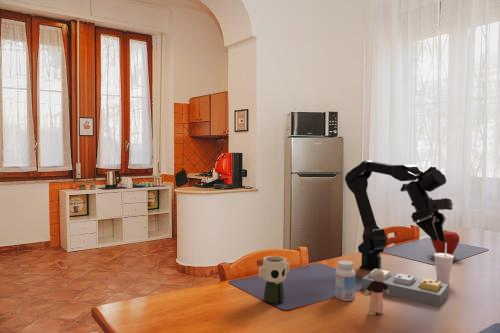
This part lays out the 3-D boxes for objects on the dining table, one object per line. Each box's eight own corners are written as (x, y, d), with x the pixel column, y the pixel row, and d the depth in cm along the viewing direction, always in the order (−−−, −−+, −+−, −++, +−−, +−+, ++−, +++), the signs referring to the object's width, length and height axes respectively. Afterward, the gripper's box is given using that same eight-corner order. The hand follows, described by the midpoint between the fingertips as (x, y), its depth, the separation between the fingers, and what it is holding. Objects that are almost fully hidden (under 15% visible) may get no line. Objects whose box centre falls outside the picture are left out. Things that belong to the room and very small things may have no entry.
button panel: (361, 288, 132) (361, 278, 132) (374, 279, 141) (374, 269, 141) (439, 306, 117) (440, 295, 117) (448, 295, 127) (448, 284, 126)
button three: (419, 290, 124) (420, 281, 124) (424, 285, 128) (424, 277, 128) (437, 294, 121) (437, 285, 121) (440, 289, 125) (441, 281, 125)
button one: (370, 279, 133) (370, 271, 133) (375, 275, 137) (375, 268, 137) (384, 282, 130) (385, 274, 130) (389, 278, 134) (390, 270, 134)
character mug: (264, 308, 115) (265, 264, 114) (252, 299, 121) (253, 258, 121) (295, 301, 120) (296, 259, 119) (282, 293, 126) (283, 253, 126)
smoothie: (455, 286, 135) (457, 245, 134) (435, 284, 136) (436, 244, 135) (450, 280, 141) (451, 241, 140) (430, 278, 142) (432, 240, 142)
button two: (394, 284, 129) (394, 276, 128) (398, 280, 133) (399, 272, 132) (410, 288, 126) (410, 279, 125) (414, 283, 130) (414, 275, 129)
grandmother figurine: (371, 318, 109) (372, 272, 108) (361, 312, 113) (363, 268, 112) (392, 313, 112) (393, 269, 112) (383, 308, 116) (384, 265, 115)
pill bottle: (355, 295, 126) (356, 260, 125) (354, 302, 120) (355, 266, 119) (336, 293, 127) (337, 258, 127) (334, 300, 122) (334, 264, 121)
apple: (459, 255, 174) (460, 228, 173) (457, 261, 165) (458, 232, 164) (432, 251, 180) (433, 225, 179) (428, 257, 171) (429, 229, 170)
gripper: (435, 183, 123) (459, 230, 117) (449, 191, 138) (471, 233, 131) (402, 198, 129) (422, 243, 123) (419, 204, 143) (438, 245, 137)
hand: (440, 241), depth 128 cm, fingers open, 9 cm apart
